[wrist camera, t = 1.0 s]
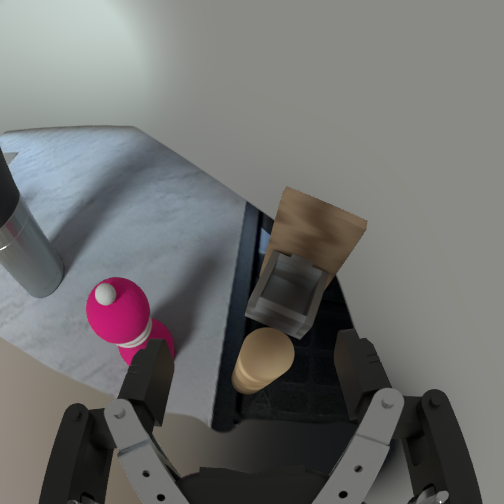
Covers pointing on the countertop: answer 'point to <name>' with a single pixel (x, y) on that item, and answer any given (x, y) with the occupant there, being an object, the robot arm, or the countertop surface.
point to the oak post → (262, 360)
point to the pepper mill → (124, 317)
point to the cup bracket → (301, 261)
